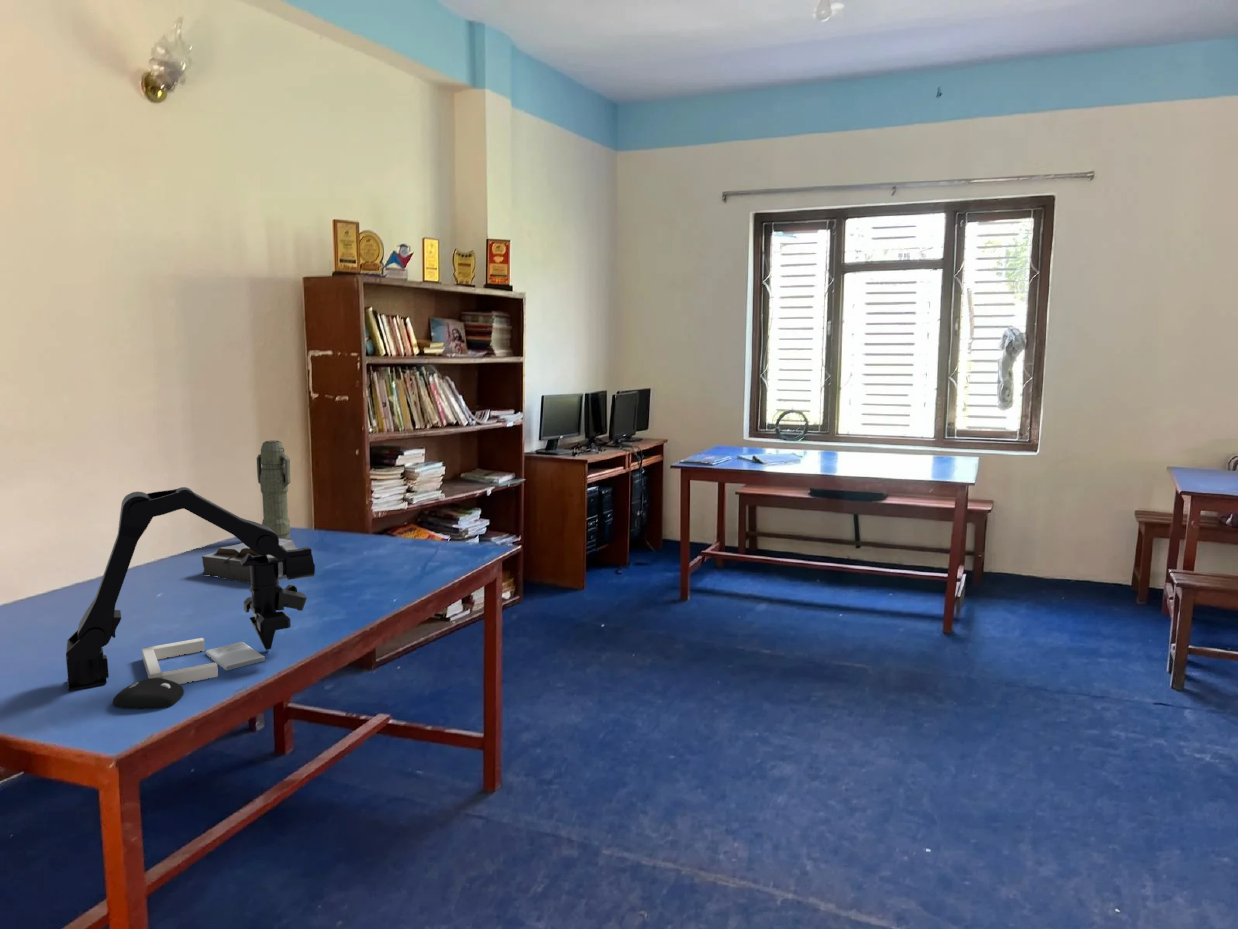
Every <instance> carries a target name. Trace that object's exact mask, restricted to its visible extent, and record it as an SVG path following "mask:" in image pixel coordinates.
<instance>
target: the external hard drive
mask: <svg viewBox="0 0 1238 929" xmlns="http://www.w3.org/2000/svg"><path fill="white" fill-rule="evenodd" d="M205 654H207V655H206V656H207V657H209V658H210V657H211V658H210V659H211V660H213V661H214V662H216V663H217V665H218V666H220V667H221V668H222V667H223V670H225V671H230V670H234V669H237V668H242V667H244V666H245V667H246V666H250V665H254V664H257V663H261V662H265V661H266V656H264V655H263V654H261V653H260V652H258V651H257V650H255V649H254V648H252V647H251V646H249V645H248V644H246V643H245V642H244V641H239V642H236V643H232V644H228V645H222V646H219V647H215V648H210V649H207V650H205Z"/></svg>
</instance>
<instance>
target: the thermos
mask: <svg viewBox="0 0 1238 929" xmlns="http://www.w3.org/2000/svg"><path fill="white" fill-rule="evenodd" d="M285 450H286V449H285V447H284V444H283V443H282V441H280V440H265V441H264V442H262V445H261V448H260V453H259V454H258V455H257V457H256V472H257V473H256V474H257V482H258V484H260V492H261V494H262V514H263V519H262V521H261V524H262V525H265V526H268V527H269V528H271V529H272V530H273V531H274V532H275V533H276V535H277V536H278V539H285V540H288V539H290V540H291V535H290V534H291V524H290V523H291V521H290V519H289V513H288V511H289V509H288V491H289V485H290V484H291V463H290V462H291V460H290V458H289V456H288V455H286V454H285Z"/></svg>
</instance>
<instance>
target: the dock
mask: <svg viewBox="0 0 1238 929" xmlns="http://www.w3.org/2000/svg"><path fill="white" fill-rule="evenodd" d="M200 651H202V652H206V645H205V638H204V637H199V638H193V639H187V640H182V641H176V642H170V643H165V644H158V645H153V646H148V647H142V648H141V655H142V656H141V657H142V661H143V665H144V669H145V671H146V672H145V673H146V674H147V679H149V678H162V679H167V680H170V681H173V682H176V683H178V684H180V685H185V684H188V683H187V682H189V683H192V681H194V682H198V681H203V680H208V678H209V679H212V678H218V677H219V671H218V668H219V667H218V666H219V665H218V664H217V663H216V662H215V661H214V662H209V663H203V664H199V665H192V666H187V667H183V668H179V669H174V670H173V669H172V670H168V671H163V672H162V670H161V667H160V665H159V661H158V660H163V659H168V658H167V657H169V658H174V657H179V655H180V656H185V655H184V654H186V655H189V654H196V653H201V652H200Z"/></svg>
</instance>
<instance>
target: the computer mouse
mask: <svg viewBox="0 0 1238 929" xmlns="http://www.w3.org/2000/svg"><path fill="white" fill-rule="evenodd" d="M184 695H185V691H184V688H183V686H182V684H178V683H176V682H173V681H170V680H167V679H162V678H145V679H141V680H138V681H136V682H134V683H131V684H130V685H128V686H126V687H125V688H123V689H122V690H121V691H119V692H118V693H117V694H116V695H115V696H113V697H114V698H113V700H112V705H113V706H114V707H115V708H120V709H127V708H129V709H132V710H138V709H139V710H142V709H143V710H144V708H150V709H165V708H164V707H167V708H170V707H171V706H173V705H174V704H176V703H177V702H179V700H180V699H181V698H182V697H183V696H184ZM169 706H170V707H169Z"/></svg>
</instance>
